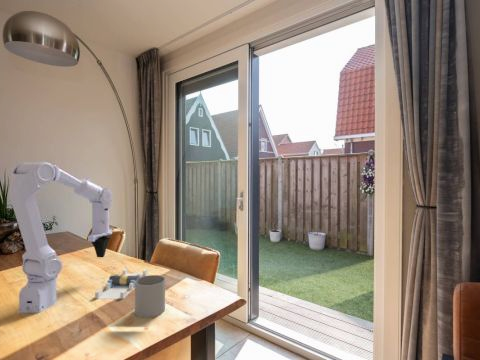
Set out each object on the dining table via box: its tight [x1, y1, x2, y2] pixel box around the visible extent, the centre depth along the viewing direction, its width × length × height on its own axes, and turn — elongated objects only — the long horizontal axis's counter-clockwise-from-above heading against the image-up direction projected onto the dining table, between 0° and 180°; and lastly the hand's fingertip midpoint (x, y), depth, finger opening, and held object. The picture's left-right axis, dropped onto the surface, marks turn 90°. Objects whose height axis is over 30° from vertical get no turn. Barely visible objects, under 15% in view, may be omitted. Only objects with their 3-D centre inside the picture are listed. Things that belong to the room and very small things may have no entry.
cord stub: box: [108, 274, 140, 285], centre depth 103 cm, size 10×3×3 cm, turn 90°
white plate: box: [94, 268, 149, 300], centre depth 103 cm, size 24×9×4 cm, turn 0°
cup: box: [134, 274, 166, 319], centre depth 83 cm, size 8×8×10 cm
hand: (100, 256), depth 107 cm, fingers closed
